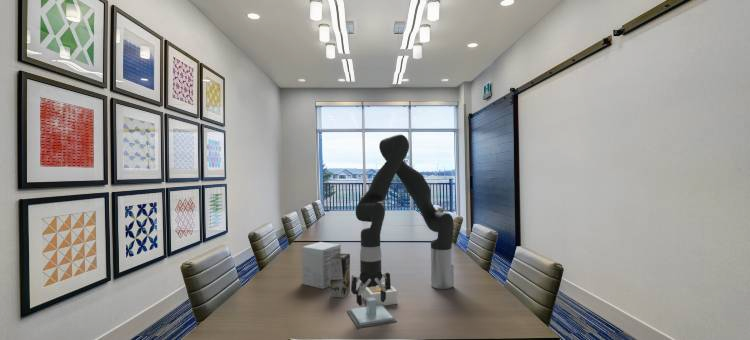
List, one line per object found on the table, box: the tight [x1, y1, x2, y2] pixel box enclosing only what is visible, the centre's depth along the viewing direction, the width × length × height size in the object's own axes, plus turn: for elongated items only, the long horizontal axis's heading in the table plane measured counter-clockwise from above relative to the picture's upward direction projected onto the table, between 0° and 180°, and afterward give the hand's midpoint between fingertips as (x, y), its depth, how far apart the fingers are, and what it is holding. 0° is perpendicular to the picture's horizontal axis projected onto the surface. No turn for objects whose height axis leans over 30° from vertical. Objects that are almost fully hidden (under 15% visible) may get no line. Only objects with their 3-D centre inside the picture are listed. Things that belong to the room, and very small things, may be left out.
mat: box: [346, 305, 397, 329], centre depth 118 cm, size 14×14×1 cm
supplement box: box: [301, 241, 342, 290], centre depth 155 cm, size 13×13×18 cm
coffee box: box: [329, 253, 351, 299], centre depth 141 cm, size 9×6×16 cm
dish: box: [362, 281, 398, 307], centre depth 133 cm, size 11×11×5 cm
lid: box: [350, 297, 394, 325], centre depth 118 cm, size 12×12×6 cm
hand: (371, 303), depth 118 cm, fingers open, 8 cm apart
